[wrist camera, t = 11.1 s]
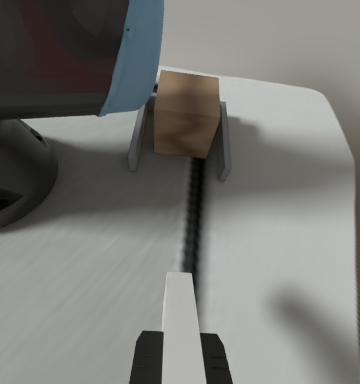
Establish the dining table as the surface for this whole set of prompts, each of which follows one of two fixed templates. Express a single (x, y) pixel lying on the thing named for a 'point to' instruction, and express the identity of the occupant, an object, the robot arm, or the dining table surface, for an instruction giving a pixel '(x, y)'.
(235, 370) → the dining table surface
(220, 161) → the grey u-shaped frame
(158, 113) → the walnut block
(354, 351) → the dining table surface
